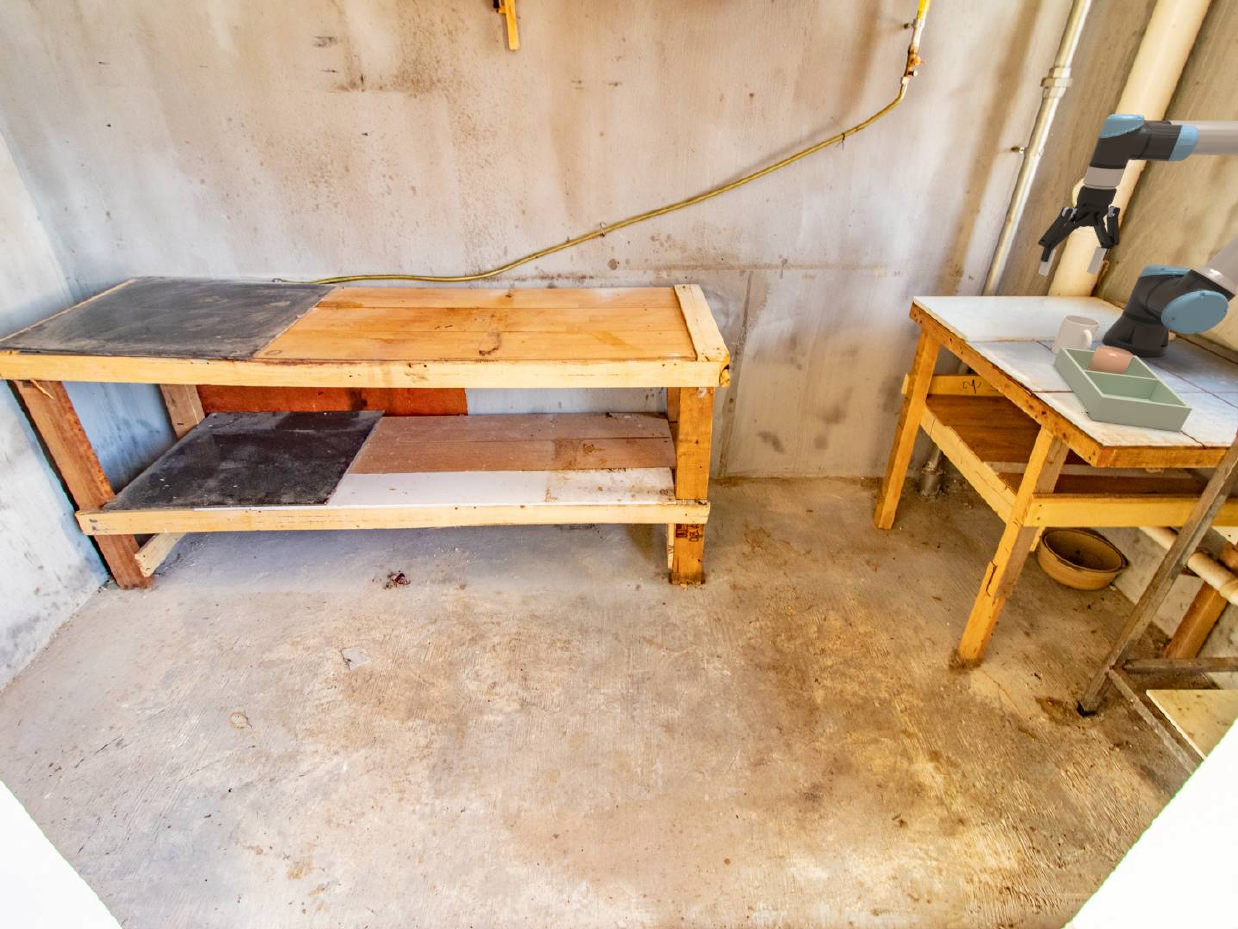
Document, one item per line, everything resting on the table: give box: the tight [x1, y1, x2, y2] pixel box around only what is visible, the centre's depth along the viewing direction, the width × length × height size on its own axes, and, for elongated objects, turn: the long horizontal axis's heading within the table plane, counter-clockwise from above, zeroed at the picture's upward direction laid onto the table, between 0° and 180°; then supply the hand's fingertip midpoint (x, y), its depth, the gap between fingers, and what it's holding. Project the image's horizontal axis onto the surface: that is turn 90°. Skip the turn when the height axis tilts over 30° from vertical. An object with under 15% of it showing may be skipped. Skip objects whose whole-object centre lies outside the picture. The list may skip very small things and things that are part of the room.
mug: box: [1050, 314, 1101, 356], centre depth 176 cm, size 12×8×10 cm
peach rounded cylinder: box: [1087, 345, 1134, 375], centre depth 162 cm, size 8×8×8 cm
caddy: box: [1053, 347, 1193, 432], centre depth 157 cm, size 18×30×6 cm, turn 165°
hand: (1067, 273), depth 169 cm, fingers open, 13 cm apart
